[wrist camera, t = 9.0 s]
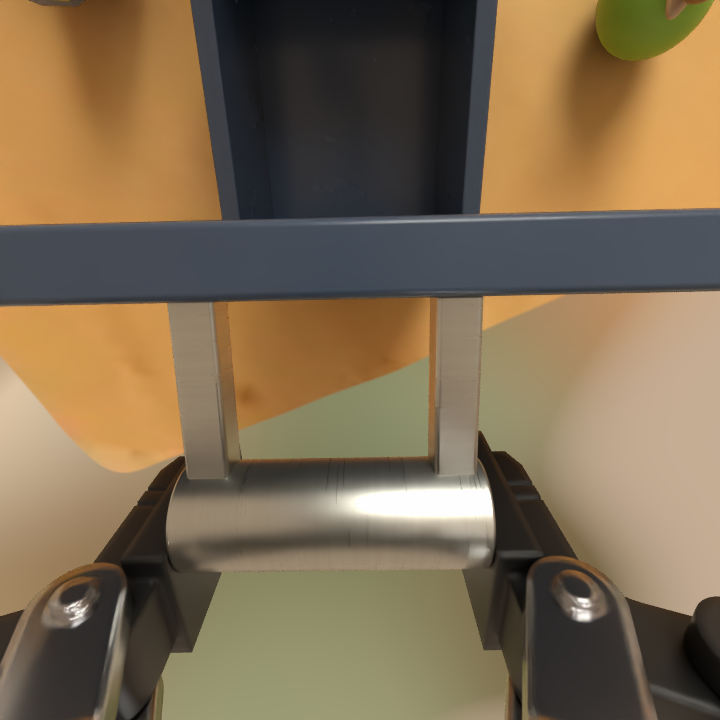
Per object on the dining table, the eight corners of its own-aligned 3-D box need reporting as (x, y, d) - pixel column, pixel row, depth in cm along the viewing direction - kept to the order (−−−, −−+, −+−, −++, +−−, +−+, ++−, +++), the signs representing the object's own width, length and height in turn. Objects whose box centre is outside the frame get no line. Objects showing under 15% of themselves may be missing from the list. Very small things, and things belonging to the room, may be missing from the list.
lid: (-349, 231, 4) (-191, 686, 5) (978, 200, 4) (856, 675, 5) (227, 274, 20) (236, 377, 21) (477, 269, 20) (473, 372, 21)
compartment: (238, -18, 23) (169, -141, 15) (457, -25, 23) (511, -153, 15) (268, 258, 29) (230, 281, 21) (442, 254, 29) (474, 275, 20)
